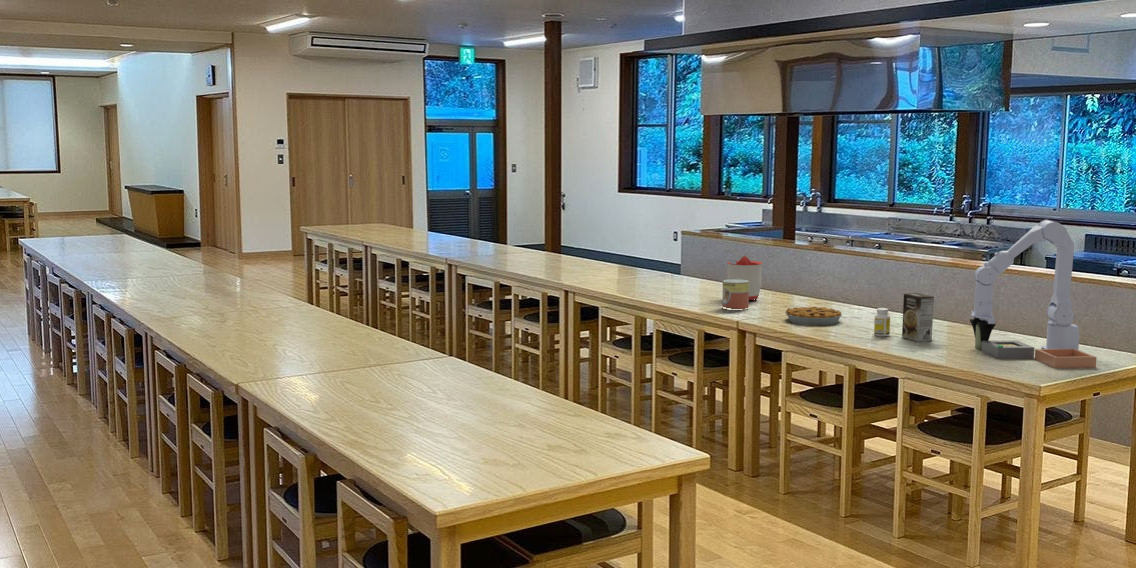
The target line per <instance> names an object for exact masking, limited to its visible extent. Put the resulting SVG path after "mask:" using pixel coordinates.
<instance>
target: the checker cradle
mask: <svg viewBox="0 0 1136 568" xmlns="http://www.w3.org/2000/svg"><path fill="white" fill-rule="evenodd" d="M998 344H1013V345H1016V346H1003V345H998ZM1035 349H1036V348H1035V347H1034V346H1032V345H1029V344H1027V343H1024V342H1022V341H1020V340H988V341H982V349H981V352H983V353H984V354H987V355H990V356H992V357H993V356H994V358H995V357H996V359H1035Z"/></svg>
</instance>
